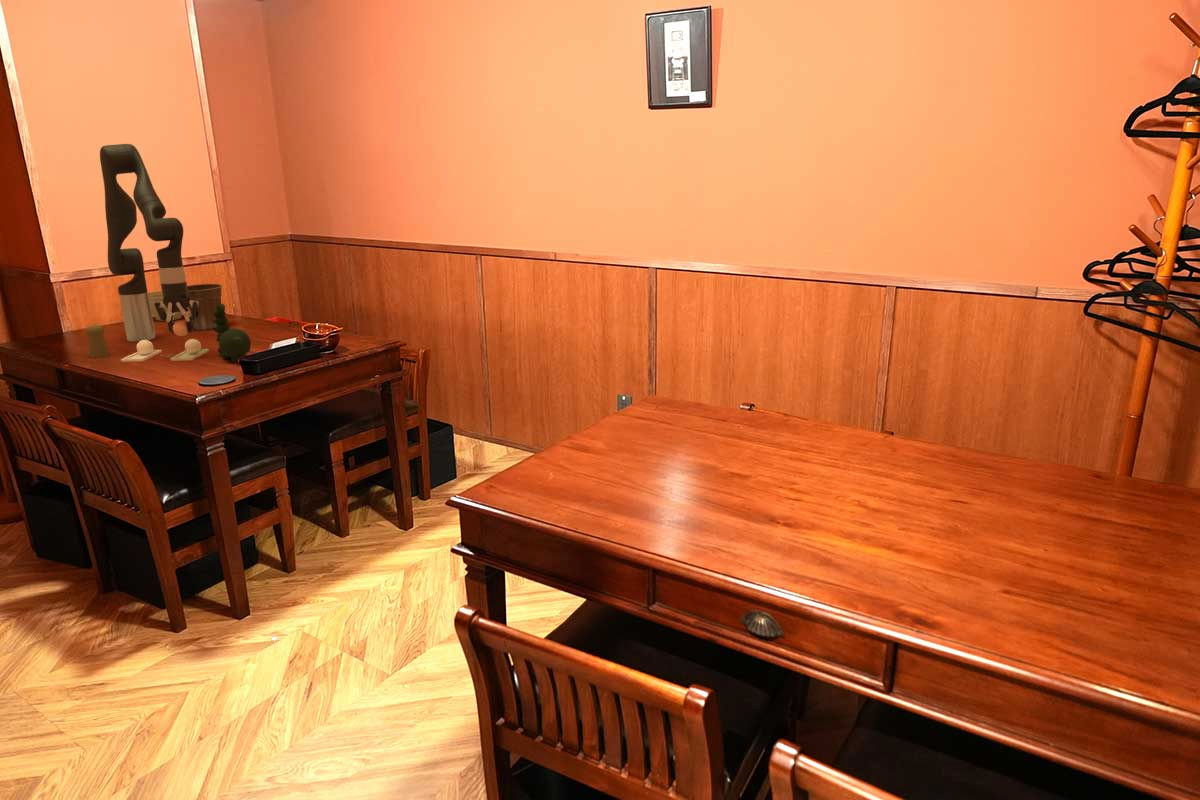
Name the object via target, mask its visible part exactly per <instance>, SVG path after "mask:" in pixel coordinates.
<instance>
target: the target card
mask: <svg viewBox="0 0 1200 800" xmlns="http://www.w3.org/2000/svg"><path fill="white" fill-rule="evenodd" d="M174 356H175V354H174V353H171V354H169V355H167V356H166V358H172V357H174ZM161 357H164V355H163V354H160V355H159V358H161Z"/></svg>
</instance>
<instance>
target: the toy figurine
mask: <svg viewBox="0 0 1200 800" xmlns="http://www.w3.org/2000/svg"><path fill="white" fill-rule="evenodd" d="M216 309H217V310H216V311H215V312H214V313H213V315H214V316H215V317H216V318H215V320H214V321H213V322H214V323H215V324H216V325H217V327H216V328H215V329H214V330H213V331H214V332H215V333H217V334H216V335H217V336H216V342H218V348H217V352H218V353H219V357H220V358H221V359H223V360H226V361H227V360H229V359H231V362H232V363H236V364H240V363H239V362H238V359H239V358H240V357H243V356H245V357H246V355H247V353H249V352H250V351H251V347H252V342H251V341H252V340H251V337H250V336H249V334H247V332H246V331H244V330H242V329H240V328H231V327H230V326H229V324H228V318H227V316H226V314H227V313H226V305H225V304H224V303H221V304H218V305H217V307H216Z"/></svg>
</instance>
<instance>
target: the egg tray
mask: <svg viewBox="0 0 1200 800" xmlns="http://www.w3.org/2000/svg"><path fill="white" fill-rule="evenodd" d="M160 353H162V349H153V351H152V352H151V353H150V354H147V355H144V354H141V353H139V352H138V351H137V352H136V351H135V352H134V353H132V354H129V355H127V356H125V357H123V358H121V359H120V362H123V363H125V362H129V363H130V362H144V361H147V360H149V359H150V358H153V357H154V356H157V355H158V354H160Z"/></svg>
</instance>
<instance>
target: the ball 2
mask: <svg viewBox="0 0 1200 800" xmlns="http://www.w3.org/2000/svg"><path fill="white" fill-rule="evenodd" d="M186 322H187V321H184V320H177V321H176V322H175V323H174V325H173V331H174V333H173V334H175V335H177V336H179V337H183V336H187V335H188V334H189V333H188V331H187V325H186Z"/></svg>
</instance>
